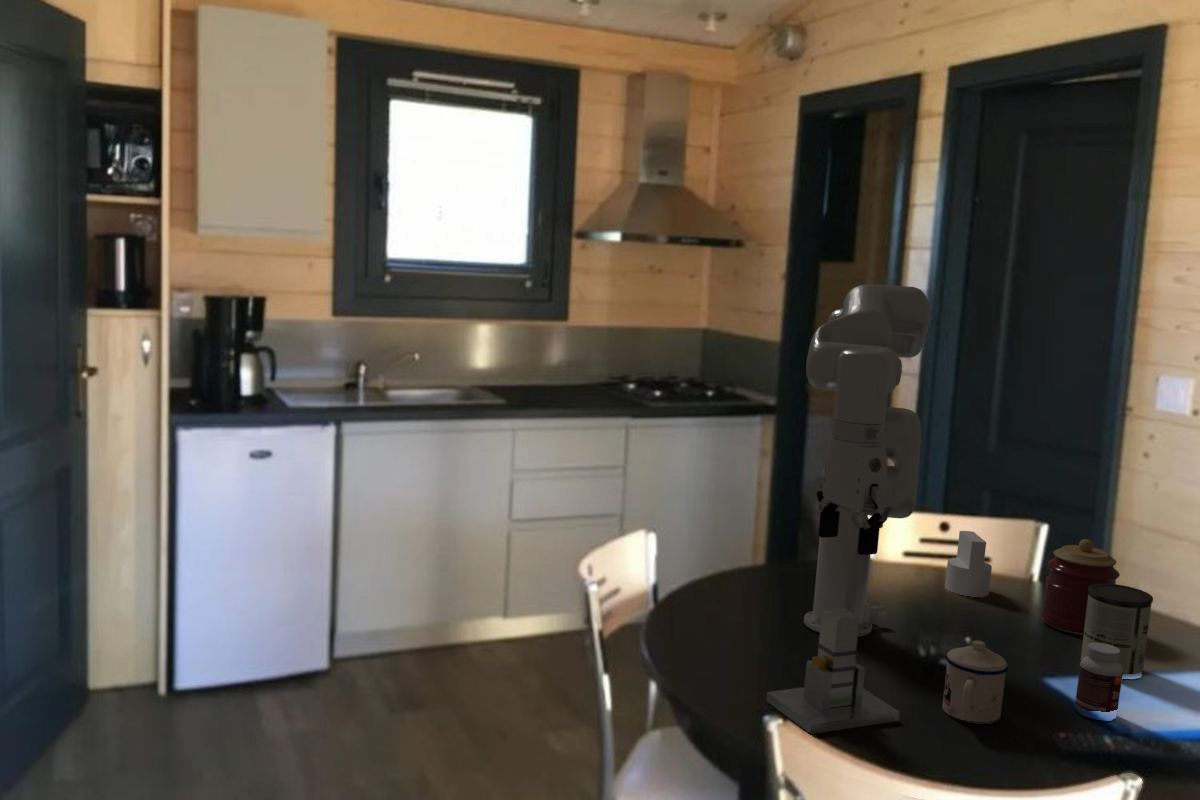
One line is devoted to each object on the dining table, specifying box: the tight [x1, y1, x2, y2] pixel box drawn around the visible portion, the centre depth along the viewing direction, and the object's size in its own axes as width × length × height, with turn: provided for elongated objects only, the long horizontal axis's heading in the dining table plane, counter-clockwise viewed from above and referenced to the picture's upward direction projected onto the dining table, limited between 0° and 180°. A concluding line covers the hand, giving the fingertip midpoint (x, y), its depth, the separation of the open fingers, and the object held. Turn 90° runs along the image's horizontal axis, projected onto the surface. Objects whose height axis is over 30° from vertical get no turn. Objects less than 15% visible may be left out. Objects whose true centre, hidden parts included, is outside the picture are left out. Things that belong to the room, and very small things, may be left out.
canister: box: [1041, 538, 1121, 633], centre depth 215 cm, size 13×13×18 cm
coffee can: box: [1080, 583, 1154, 674], centre depth 193 cm, size 10×10×14 cm
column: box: [817, 608, 859, 708], centre depth 168 cm, size 4×4×14 cm
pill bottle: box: [1074, 643, 1123, 712], centre depth 173 cm, size 6×6×11 cm
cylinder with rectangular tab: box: [944, 530, 993, 598], centre depth 235 cm, size 9×9×12 cm
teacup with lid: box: [942, 640, 1009, 722], centre depth 169 cm, size 12×9×12 cm
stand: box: [765, 655, 900, 735], centre depth 169 cm, size 16×12×9 cm
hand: (847, 545), depth 165 cm, fingers open, 9 cm apart
